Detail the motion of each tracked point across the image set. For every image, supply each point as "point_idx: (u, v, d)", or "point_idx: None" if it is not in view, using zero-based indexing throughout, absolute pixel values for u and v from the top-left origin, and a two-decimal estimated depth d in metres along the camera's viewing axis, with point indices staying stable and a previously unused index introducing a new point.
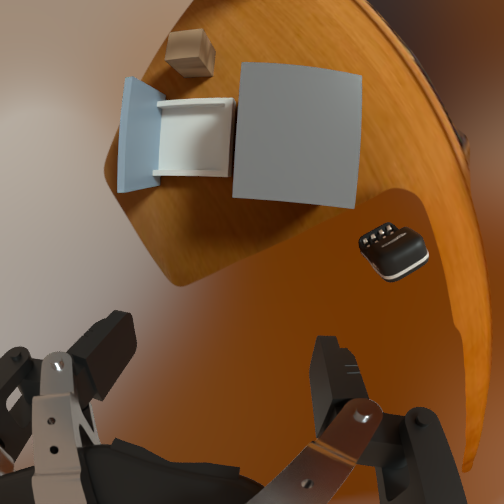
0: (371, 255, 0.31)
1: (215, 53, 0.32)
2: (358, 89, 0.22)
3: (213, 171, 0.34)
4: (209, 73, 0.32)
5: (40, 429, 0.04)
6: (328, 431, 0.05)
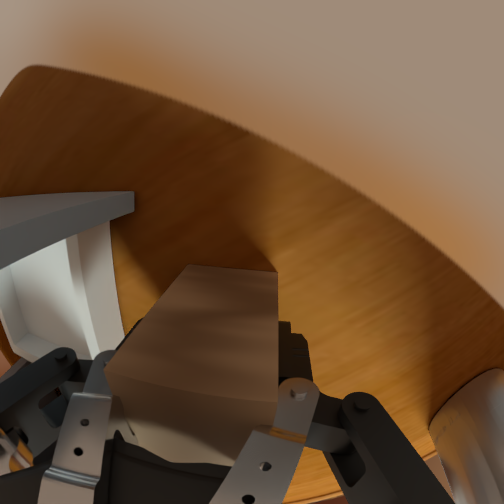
0: None
1: None
2: None
3: (9, 334, 0.13)
4: None
5: (70, 427, 0.04)
6: None
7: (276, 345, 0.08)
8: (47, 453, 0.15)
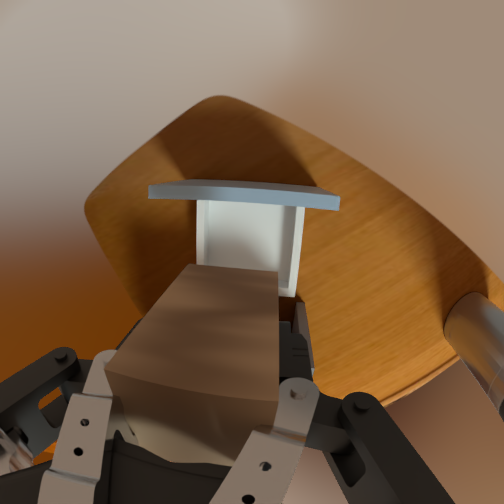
0: None
1: None
2: None
3: None
4: None
5: (70, 428, 0.04)
6: None
7: (277, 344, 0.08)
8: None
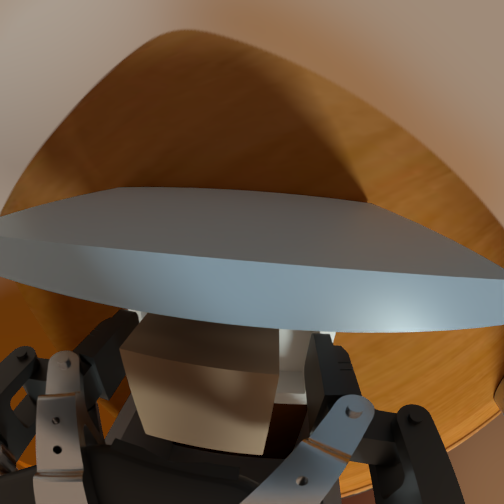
0: None
1: None
2: None
3: None
4: None
5: (44, 428, 0.04)
6: (320, 428, 0.06)
7: None
8: None
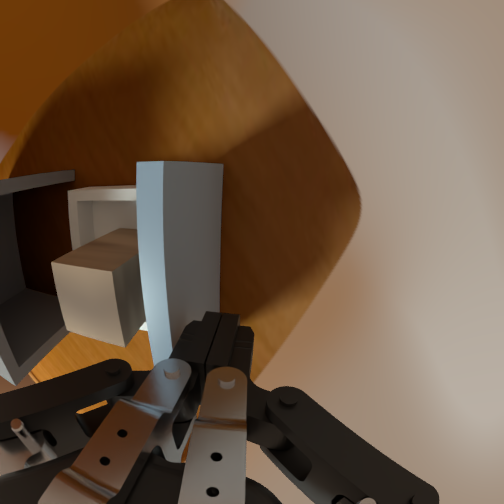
0: None
1: None
2: None
3: (85, 198, 0.17)
4: (113, 232, 0.18)
5: (104, 435, 0.04)
6: (204, 406, 0.06)
7: (141, 325, 0.15)
8: None
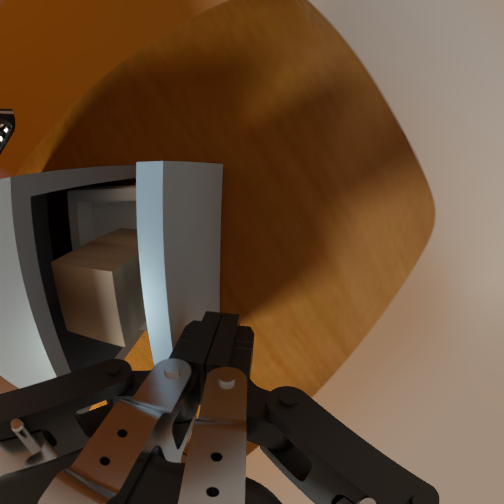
0: None
1: None
2: None
3: (85, 199, 0.17)
4: (113, 232, 0.18)
5: (104, 435, 0.04)
6: (204, 406, 0.06)
7: (141, 325, 0.15)
8: None
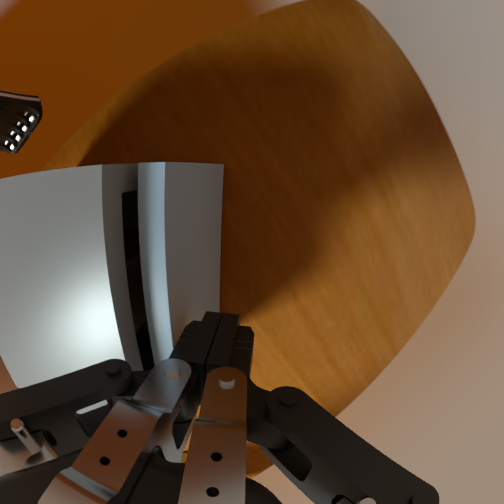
0: None
1: None
2: (9, 370, 0.11)
3: None
4: None
5: (104, 435, 0.04)
6: (204, 406, 0.06)
7: (141, 325, 0.15)
8: None
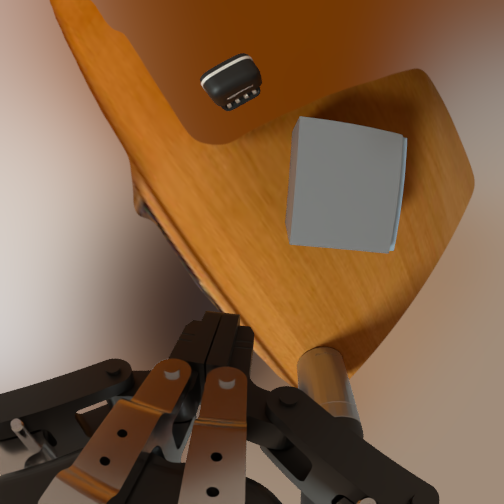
0: None
1: None
2: (294, 229, 0.29)
3: None
4: None
5: (104, 435, 0.04)
6: (204, 406, 0.06)
7: None
8: None
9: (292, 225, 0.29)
